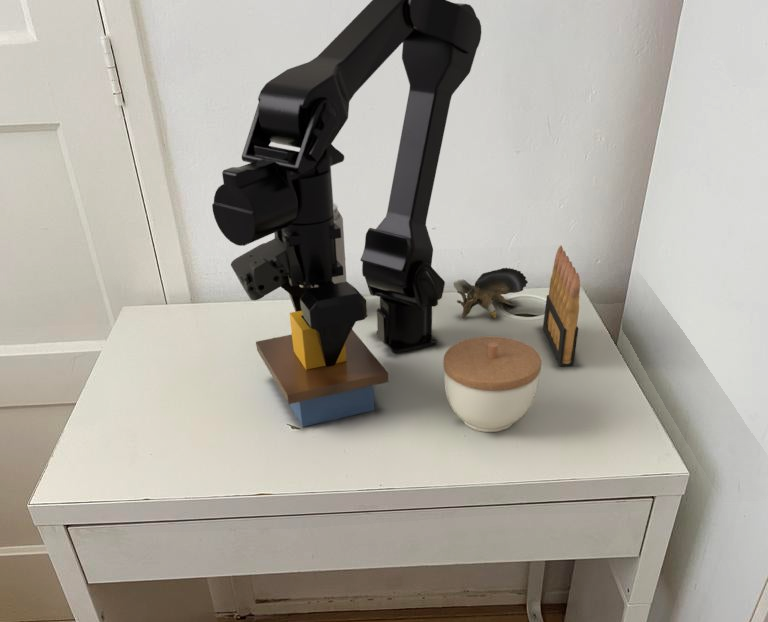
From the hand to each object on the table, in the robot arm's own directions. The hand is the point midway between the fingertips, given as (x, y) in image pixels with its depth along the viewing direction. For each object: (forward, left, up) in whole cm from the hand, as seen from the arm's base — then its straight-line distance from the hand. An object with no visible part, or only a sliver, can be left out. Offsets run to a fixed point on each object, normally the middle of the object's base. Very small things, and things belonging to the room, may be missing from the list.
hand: (318, 349), depth 92 cm
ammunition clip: (-33, +1, -6) cm, 33 cm away
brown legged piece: (-29, -12, -6) cm, 32 cm away
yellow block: (0, 0, -1) cm, 1 cm away
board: (0, 0, -2) cm, 2 cm away
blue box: (0, 0, -6) cm, 6 cm away
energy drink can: (-8, -22, -6) cm, 24 cm away
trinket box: (-16, +13, -6) cm, 22 cm away
